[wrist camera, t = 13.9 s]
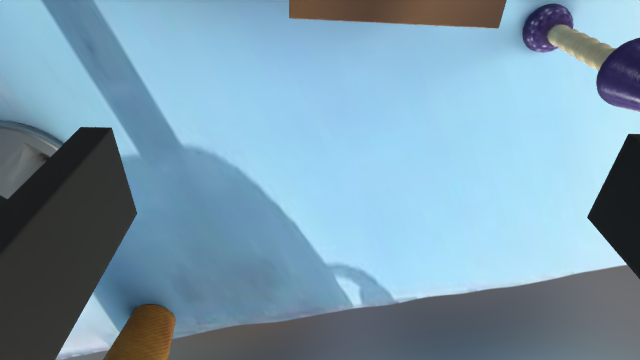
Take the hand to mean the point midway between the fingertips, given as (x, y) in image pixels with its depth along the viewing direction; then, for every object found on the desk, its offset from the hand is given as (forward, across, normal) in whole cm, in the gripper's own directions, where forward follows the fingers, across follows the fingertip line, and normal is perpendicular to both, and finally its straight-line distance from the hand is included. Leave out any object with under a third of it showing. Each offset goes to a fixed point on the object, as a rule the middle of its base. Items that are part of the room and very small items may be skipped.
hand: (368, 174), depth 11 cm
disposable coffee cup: (+31, -25, -47) cm, 62 cm away
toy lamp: (+30, +20, -3) cm, 36 cm away
